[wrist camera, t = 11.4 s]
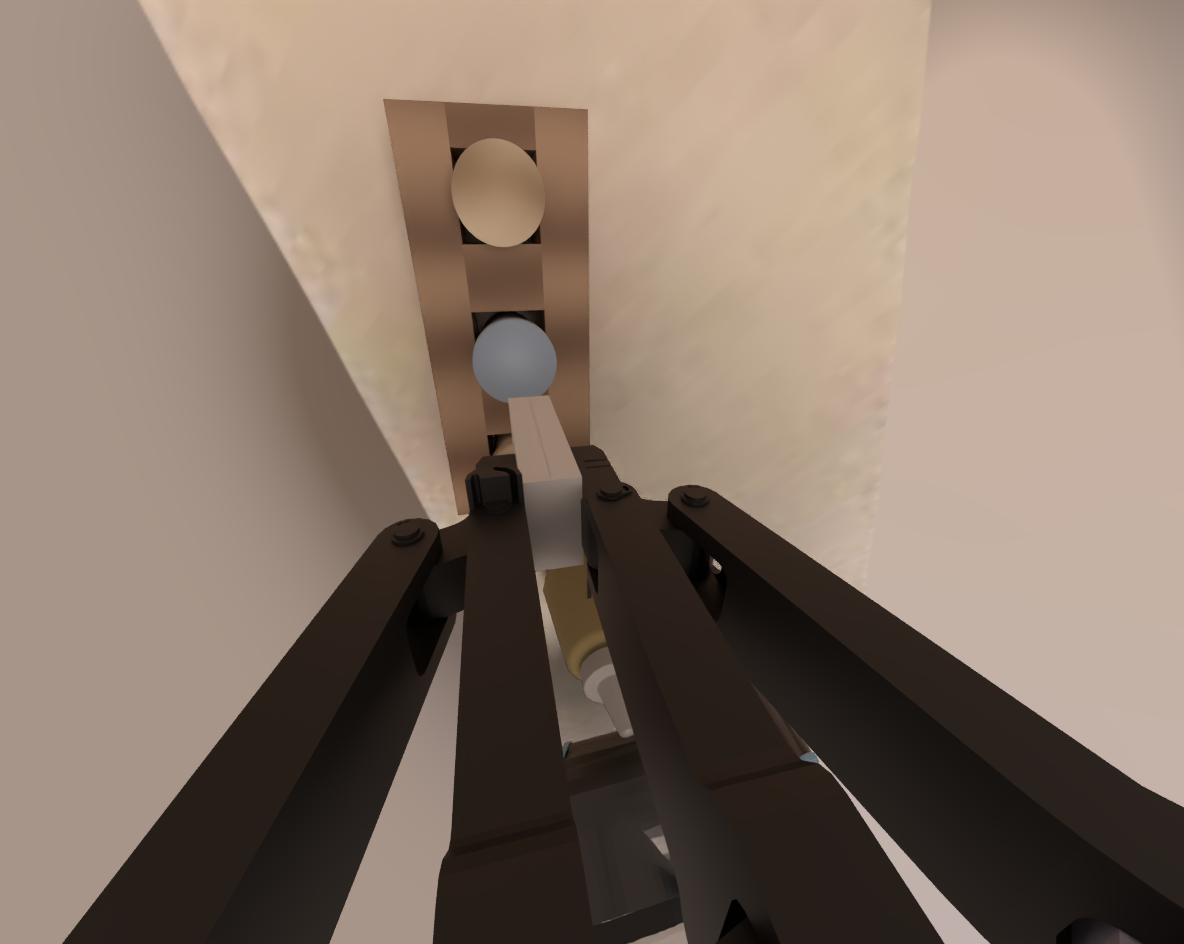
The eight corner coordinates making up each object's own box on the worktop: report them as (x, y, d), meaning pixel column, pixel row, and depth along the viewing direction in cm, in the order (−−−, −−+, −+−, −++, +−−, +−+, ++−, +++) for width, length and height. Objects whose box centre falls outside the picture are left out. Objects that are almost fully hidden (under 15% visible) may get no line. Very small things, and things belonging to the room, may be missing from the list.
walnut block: (576, 465, 39) (590, 499, 34) (461, 476, 38) (458, 515, 32) (568, 132, 28) (587, 109, 23) (403, 126, 26) (383, 99, 21)
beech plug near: (534, 244, 29) (547, 246, 23) (464, 244, 28) (458, 247, 22) (529, 161, 27) (542, 140, 21) (453, 159, 26) (444, 136, 20)
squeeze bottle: (556, 519, 42) (599, 686, 26) (629, 537, 45) (706, 697, 29) (527, 582, 45) (549, 766, 29) (597, 595, 48) (651, 769, 32)
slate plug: (544, 369, 32) (558, 400, 26) (479, 373, 31) (478, 406, 25) (540, 301, 29) (554, 318, 23) (470, 303, 29) (466, 322, 23)
